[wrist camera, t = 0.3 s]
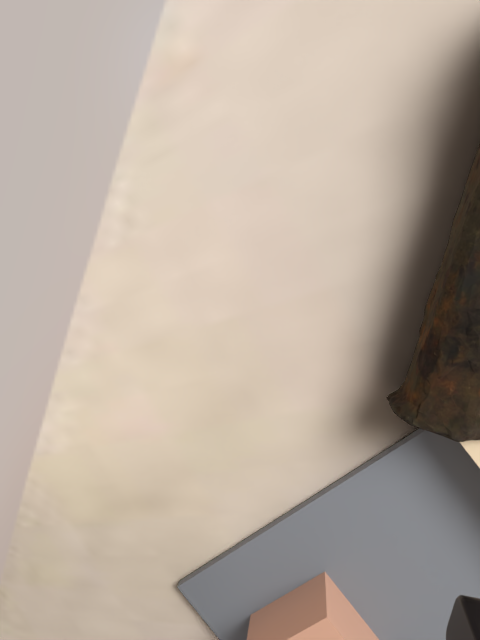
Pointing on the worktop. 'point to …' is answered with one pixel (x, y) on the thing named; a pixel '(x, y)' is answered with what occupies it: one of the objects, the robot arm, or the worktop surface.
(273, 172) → the worktop surface
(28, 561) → the worktop surface
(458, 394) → the hand tool
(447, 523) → the slate mat
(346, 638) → the salmon brown block
